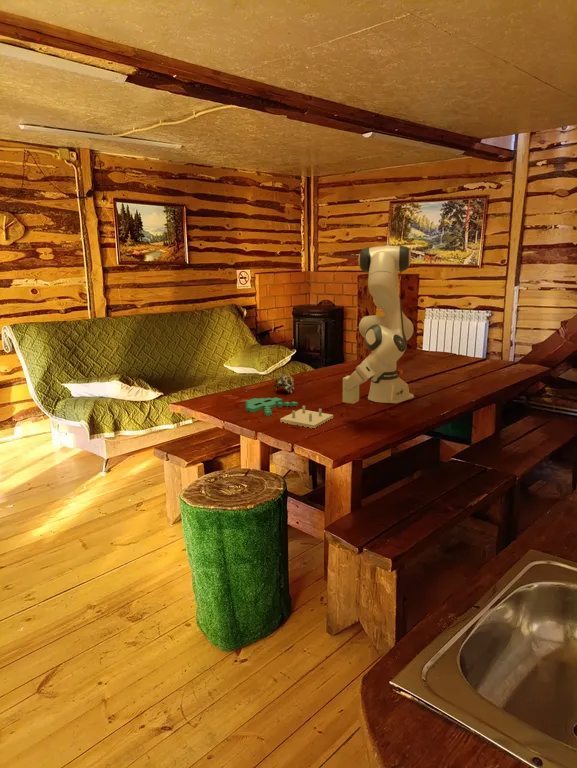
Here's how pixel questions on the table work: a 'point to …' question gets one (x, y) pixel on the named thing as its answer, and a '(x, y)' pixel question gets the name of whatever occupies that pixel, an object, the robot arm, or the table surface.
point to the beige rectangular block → (350, 393)
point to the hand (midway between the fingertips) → (349, 388)
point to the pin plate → (306, 418)
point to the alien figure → (266, 404)
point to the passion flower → (285, 383)
